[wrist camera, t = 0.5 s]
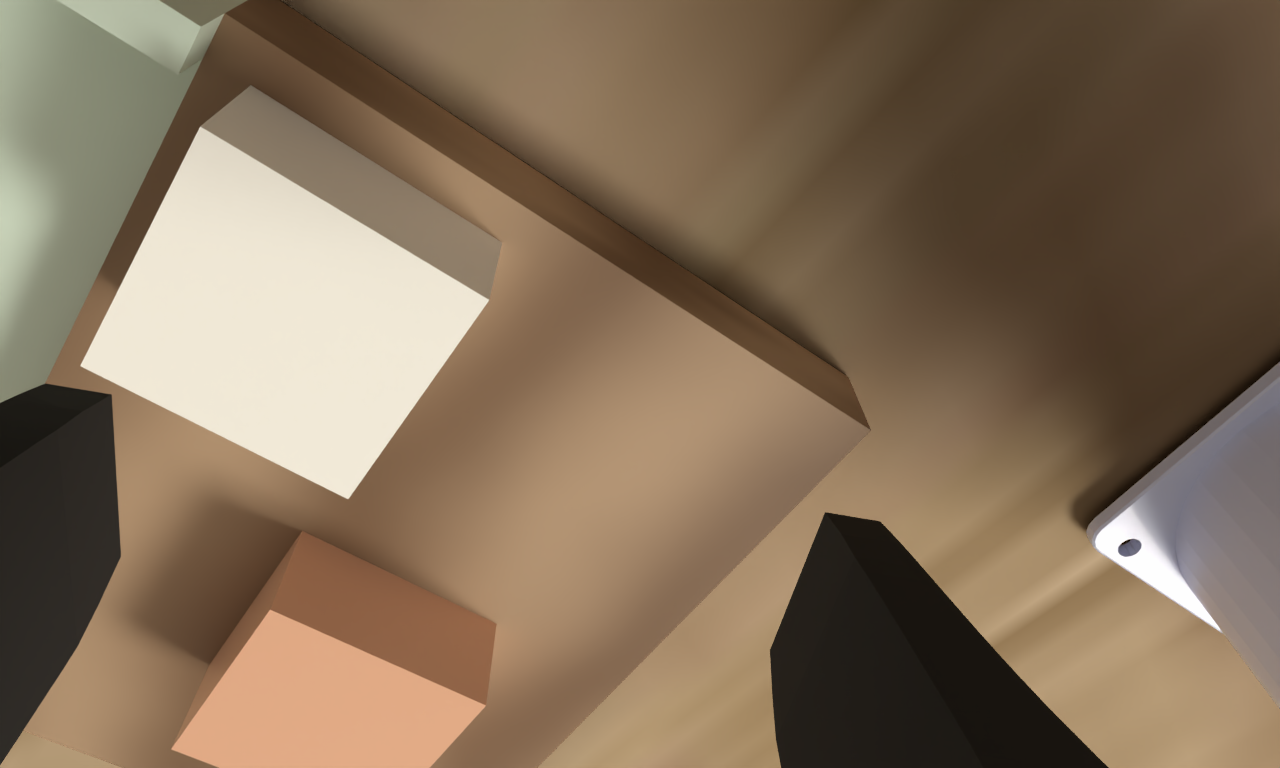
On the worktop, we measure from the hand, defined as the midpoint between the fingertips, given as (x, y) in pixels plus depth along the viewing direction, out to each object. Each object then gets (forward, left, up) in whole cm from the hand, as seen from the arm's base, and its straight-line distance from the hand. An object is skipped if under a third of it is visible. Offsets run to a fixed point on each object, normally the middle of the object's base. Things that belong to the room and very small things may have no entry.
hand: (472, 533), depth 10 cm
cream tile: (+3, +2, -8) cm, 8 cm away
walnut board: (-1, +8, -10) cm, 12 cm away
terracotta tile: (-2, +10, -8) cm, 13 cm away
